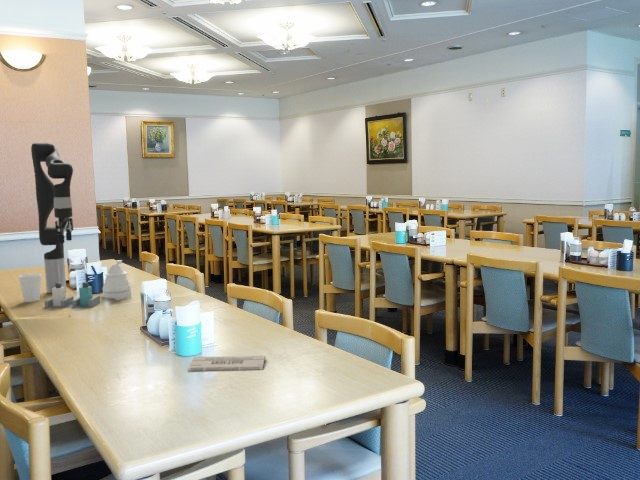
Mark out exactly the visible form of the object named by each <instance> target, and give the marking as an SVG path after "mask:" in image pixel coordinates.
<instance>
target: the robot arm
mask: <svg viewBox="0 0 640 480" xmlns="http://www.w3.org/2000/svg"><path fill="white" fill-rule="evenodd" d="M30 149H31V150H30V151H31V159H32V165H33V171H34V172H33V174H34V180H35V195H36V196H35V197H36V205H37V214H38V215H37V216H38V237H39V243H40V244H41V246H55V248H54V249H52V250H50V251H47V252H45V253H44V254H43V259H44V260H43V261H44V273H45V287H46V288H45V290H46V294H52V288H54V287H55V283H61V287H65V292H66V291H67V281H66V269H65V268H66V264H65V251H64V244H65V237H66V241H67V242H69V241H72V239H73V238H72V232H73V231H74V222H73V204H72V198H71V181H72V177H73V173H74V169H73V165H71V163H68V162H63V160H62V159H61V158H60V154H59V152H58V149H57V146H56V145H55V144H54V143H53V142H33V143H32V144H31V148H30ZM42 163H45V166H46V168H47V174H46V172H45V171H44V169H43V167H42ZM50 178H51V179H54V180H56V179H57V180H60V179H62V180H63V179H64V180H63V181H62V182H61V183H56V184H54V183H53V181H52V180H51V179H50ZM52 211H53V212H54V218H57V219H58V220H56V221H55V220H54V221H55V222H54V225H55V226H49V227H48V226H47V224H48V219H49V217H50V215H51V213H52Z"/></svg>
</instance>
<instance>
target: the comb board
mask: <svg viewBox="0 0 640 480" xmlns="http://www.w3.org/2000/svg"><path fill="white" fill-rule="evenodd" d="M101 303H102V301H101V296H100V295H95V296H92V298H91V299H89V300H88V306H80V296H78V297H76V298H74V296H73V295H70V296H68V297H67V296H66V298H65V299H63V300H61V306H53V297H51V298H49V299H46V300H44V307H42V309H79V308H80V309H85V308H86V309H87V308H94V307H96V306H98V305H100V304H101Z"/></svg>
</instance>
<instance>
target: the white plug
mask: <svg viewBox="0 0 640 480" xmlns="http://www.w3.org/2000/svg"><path fill="white" fill-rule="evenodd" d="M51 295H52V296H51V297H52V298H53V306H61V300H63V299H65V298H67V296H66V291H65V287H61V283H55V287H54V288H52V293H51Z"/></svg>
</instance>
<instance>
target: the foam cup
mask: <svg viewBox="0 0 640 480" xmlns="http://www.w3.org/2000/svg"><path fill="white" fill-rule="evenodd" d="M18 281H19V284H20V289H21V294H22V297H23V302H24V303H34V302H38V301H40V299H41V288H42V285H41V284H42V274H41V273H25V274H20V275H18Z"/></svg>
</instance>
